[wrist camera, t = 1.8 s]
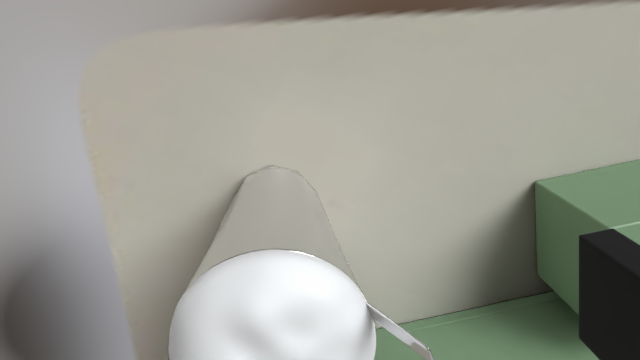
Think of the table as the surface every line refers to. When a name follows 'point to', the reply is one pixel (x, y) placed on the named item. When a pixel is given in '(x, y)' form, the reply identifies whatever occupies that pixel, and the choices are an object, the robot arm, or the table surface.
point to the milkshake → (277, 284)
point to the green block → (582, 219)
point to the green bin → (495, 333)
